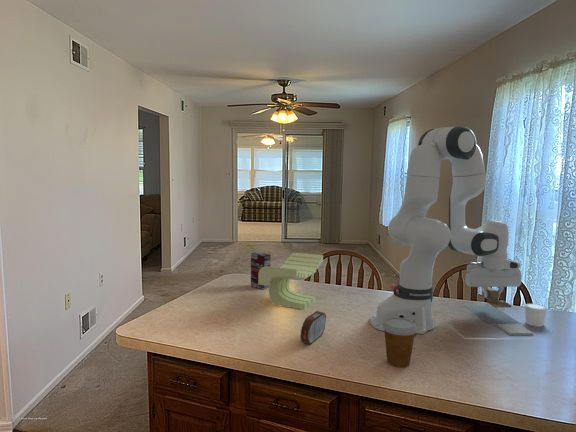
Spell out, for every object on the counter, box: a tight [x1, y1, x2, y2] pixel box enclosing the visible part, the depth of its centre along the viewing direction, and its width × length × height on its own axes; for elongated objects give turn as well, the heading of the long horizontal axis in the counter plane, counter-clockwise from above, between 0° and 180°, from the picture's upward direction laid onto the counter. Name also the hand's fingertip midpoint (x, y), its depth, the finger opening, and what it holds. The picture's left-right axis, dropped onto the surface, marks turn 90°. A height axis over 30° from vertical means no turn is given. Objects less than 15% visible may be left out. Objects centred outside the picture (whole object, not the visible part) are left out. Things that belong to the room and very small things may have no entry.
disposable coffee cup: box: [383, 317, 417, 368], centre depth 124 cm, size 10×10×12 cm
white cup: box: [524, 303, 548, 327], centre depth 157 cm, size 7×7×7 cm
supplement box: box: [250, 251, 272, 290], centre depth 201 cm, size 9×5×16 cm, turn 50°
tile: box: [497, 323, 534, 336], centre depth 150 cm, size 8×2×8 cm
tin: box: [300, 310, 327, 345], centre depth 141 cm, size 15×3×8 cm, turn 152°
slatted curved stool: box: [258, 252, 324, 310], centre depth 179 cm, size 30×16×18 cm, turn 156°
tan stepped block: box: [481, 287, 512, 309], centre depth 165 cm, size 14×6×4 cm, turn 1°
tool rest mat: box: [464, 305, 522, 325], centre depth 167 cm, size 12×20×1 cm, turn 1°
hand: (491, 297), depth 167 cm, fingers closed on tan stepped block, 2 cm apart
